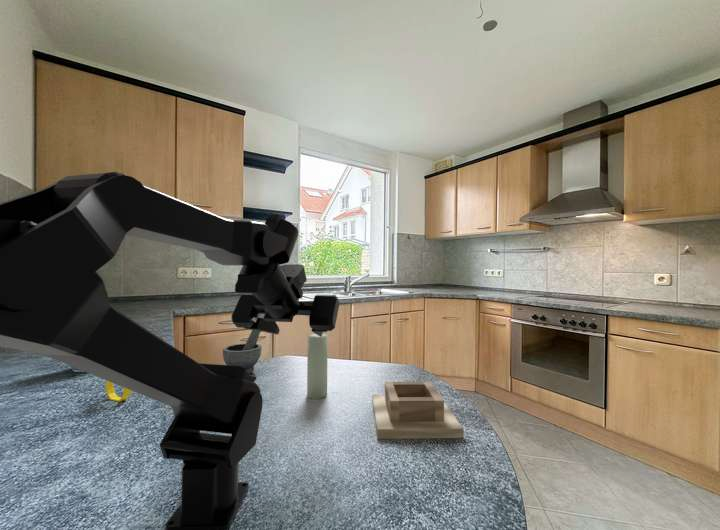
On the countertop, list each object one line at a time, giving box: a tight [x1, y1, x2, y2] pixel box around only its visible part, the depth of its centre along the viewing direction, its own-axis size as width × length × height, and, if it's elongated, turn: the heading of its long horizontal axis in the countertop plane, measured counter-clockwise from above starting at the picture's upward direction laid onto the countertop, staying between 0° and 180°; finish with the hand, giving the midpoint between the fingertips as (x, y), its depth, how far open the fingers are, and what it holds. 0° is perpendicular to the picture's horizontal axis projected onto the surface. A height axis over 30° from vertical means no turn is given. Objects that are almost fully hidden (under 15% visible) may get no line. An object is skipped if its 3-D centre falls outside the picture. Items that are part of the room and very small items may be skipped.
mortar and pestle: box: [222, 330, 262, 375], centre depth 81 cm, size 11×9×12 cm
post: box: [306, 333, 329, 400], centre depth 66 cm, size 4×4×13 cm
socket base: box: [371, 381, 464, 440], centre depth 55 cm, size 14×14×5 cm
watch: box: [105, 380, 132, 403], centre depth 63 cm, size 6×3×6 cm, turn 71°
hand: (299, 333), depth 59 cm, fingers open, 9 cm apart
